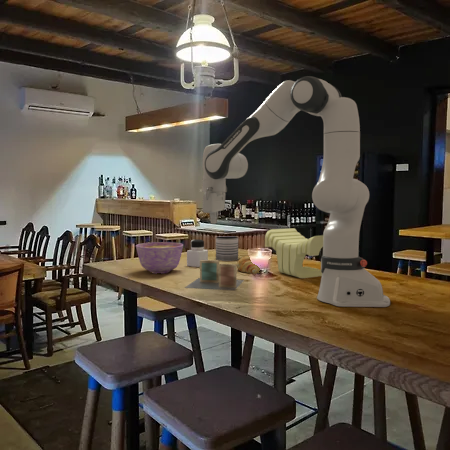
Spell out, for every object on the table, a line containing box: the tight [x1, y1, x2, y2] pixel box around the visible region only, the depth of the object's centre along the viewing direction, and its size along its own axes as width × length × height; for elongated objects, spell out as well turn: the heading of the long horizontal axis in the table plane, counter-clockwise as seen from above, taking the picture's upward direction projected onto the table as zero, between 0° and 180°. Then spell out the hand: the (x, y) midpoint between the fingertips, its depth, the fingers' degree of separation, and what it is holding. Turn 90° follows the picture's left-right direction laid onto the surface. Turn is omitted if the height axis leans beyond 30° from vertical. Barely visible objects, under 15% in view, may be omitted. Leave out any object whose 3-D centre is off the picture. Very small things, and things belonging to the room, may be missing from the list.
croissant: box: [236, 255, 261, 275], centre depth 201 cm, size 21×10×8 cm, turn 18°
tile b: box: [219, 263, 238, 289], centre depth 165 cm, size 6×2×8 cm, turn 77°
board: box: [184, 277, 245, 291], centre depth 170 cm, size 18×18×1 cm
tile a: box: [199, 259, 220, 283], centre depth 174 cm, size 7×2×8 cm, turn 77°
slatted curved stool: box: [264, 227, 323, 279], centre depth 192 cm, size 30×16×18 cm, turn 29°
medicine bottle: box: [186, 239, 209, 268], centre depth 214 cm, size 7×7×12 cm
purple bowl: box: [135, 241, 184, 274], centre depth 198 cm, size 20×20×12 cm
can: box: [215, 235, 239, 262], centre depth 233 cm, size 11×11×12 cm
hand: (213, 223), depth 179 cm, fingers closed
